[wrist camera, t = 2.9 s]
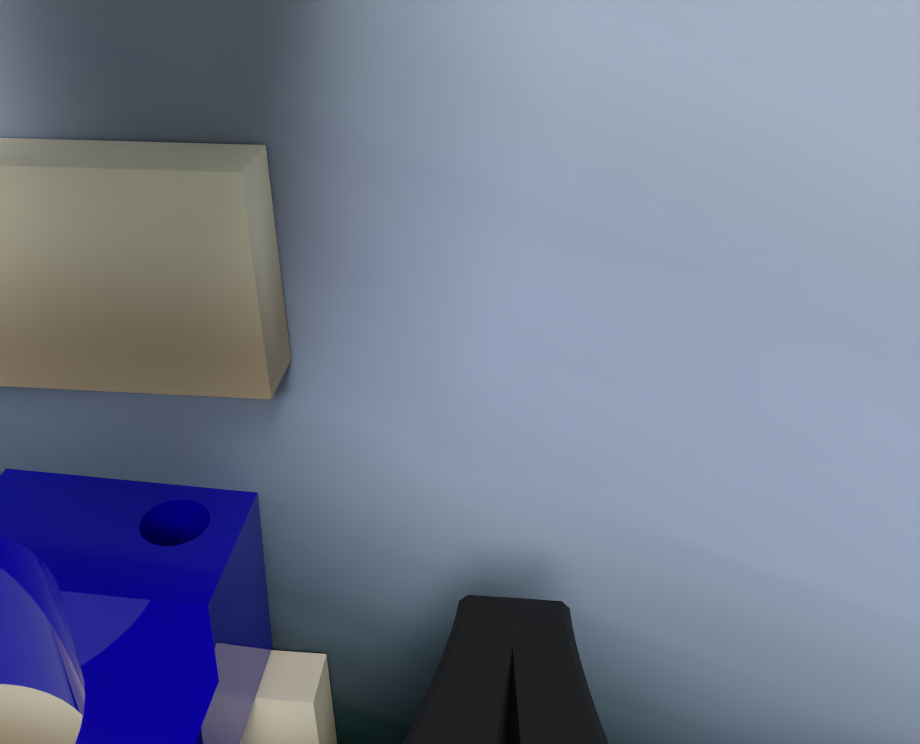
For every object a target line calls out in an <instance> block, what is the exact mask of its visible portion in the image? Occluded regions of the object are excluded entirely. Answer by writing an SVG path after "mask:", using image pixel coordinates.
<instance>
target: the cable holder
mask: <svg viewBox="0 0 920 744" xmlns="http://www.w3.org/2000/svg"><path fill="white" fill-rule="evenodd" d="M271 649H272V637H271V626H270V616H269V606H268V595H267V585H266V575H265V564H264V554H263V544H262V534H261V523H260V513H259V503H258V493H255V492H244V491H234V490H223V489H213V488H202V487H192V486H182V485H171V484H161V483H150V482H140V481H129V480H119V479H108V478H98V477H88V476H77V475H67V474H56V473H46V472H35V471H25V470H14V469H5V471H4V472H3V473H2V474H1V475H0V684H8V685H17V686H24V687H28V688H33V689H37V690H40V691H43V692H46V693H49V694H51V695H53V696H55V697H57V698H59V699H62V700H63V701H65V702H66V703H68V704H69V705H71V706H72V707H74V708H75V709H76V710H77V711H78V712H79V713H81V714H82V715H83V718H82V723H81V727H80V731H79V734H78V737H77V740H76V743H75V744H240V741H241V738H242V735H243V732H244V729H245V726H246V723H247V721H248V718H249V715H250V712H251V709H252V706H253V703H254V700H255V697H256V694H257V691H258V688H259V685H260V682H261V679H262V676H263V673H264V670H265V667H266V664H267V661H268V658H269V655H270V652H271Z"/></svg>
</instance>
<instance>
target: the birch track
mask: <svg viewBox="0 0 920 744" xmlns="http://www.w3.org/2000/svg"><path fill="white" fill-rule="evenodd" d="M290 361H291V353H290V345H289V337H288V328H287V320H286V312H285V303H284V295H283V286H282V278H281V270H280V261H279V253H278V245H277V236H276V228H275V220H274V211H273V203H272V195H271V186H270V178H269V169H268V161H267V153H266V145H248V144H211V143H174V142H137V141H100V140H64V139H27V138H0V386H7V387H27V388H47V389H68V390H88V391H108V392H129V393H149V394H169V395H190V396H210V397H230V398H251V399H271V400H272V398H273V396H274V394H275V392H276V390H277V388H278V386H279V384H280V381H281V379H282V377H283V375H284V373H285V371H286V369H287V367H288V365H289V363H290ZM82 718H83V715H82V714H81V713H79V712H78V711H77V710H76V709H75V708H74V707H72V706H71V705H69V704H68V703H66V702H65V701H63V700H62V699H59V698H57V697H55V696H53V695H51V694H49V693H46V692H43V691H40V690H37V689H33V688H28V687H24V686H17V685H8V684H0V744H75V743H76V740H77V737H78V734H79V731H80V727H81V723H82ZM240 744H337V738H336V729H335V721H334V713H333V704H332V696H331V688H330V679H329V671H328V663H327V654H319V653H305V652H291V651H277V650H271V652H270V655H269V658H268V661H267V664H266V667H265V670H264V673H263V676H262V679H261V682H260V685H259V688H258V691H257V694H256V697H255V700H254V703H253V706H252V709H251V712H250V715H249V718H248V721H247V723H246V726H245V729H244V732H243V735H242V738H241V741H240Z"/></svg>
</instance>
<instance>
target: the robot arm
mask: <svg viewBox="0 0 920 744" xmlns="http://www.w3.org/2000/svg"><path fill="white" fill-rule="evenodd" d="M403 744H608V741H607V738H606V736H605V733H604V731H603V728H602V725H601V723H600V720H599V717H598V714H597V712H596V709H595V706H594V703H593V700H592V697H591V694H590V691H589V687H588V684H587V681H586V678H585V674H584V671H583V668H582V664H581V661H580V657H579V653H578V649H577V645H576V641H575V637H574V632H573V627H572V622H571V615H570V608H569V607H568V606H566V605H565V604H564V603H563V602H562V601H550V600H535V599H520V598H505V597H490V596H474V595H467V596H466V597H464V598H463V599H461V600H460V601H459V604H458V608H457V613H456V617H455V620H454V624H453V627H452V630H451V633H450V636H449V639H448V642H447V645H446V648H445V650H444V653H443V656H442V658H441V661H440V663H439V666H438V668H437V670H436V673H435V675H434V678H433V680H432V683H431V685H430V687H429V689H428V691H427V694H426V696H425V698H424V700H423V702H422V704H421V706H420V708H419V711H418V713H417V715H416V717H415V719H414V721H413V723H412V725H411V728H410V730H409V732H408V734H407V736H406V738H405V740H404V742H403Z"/></svg>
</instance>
